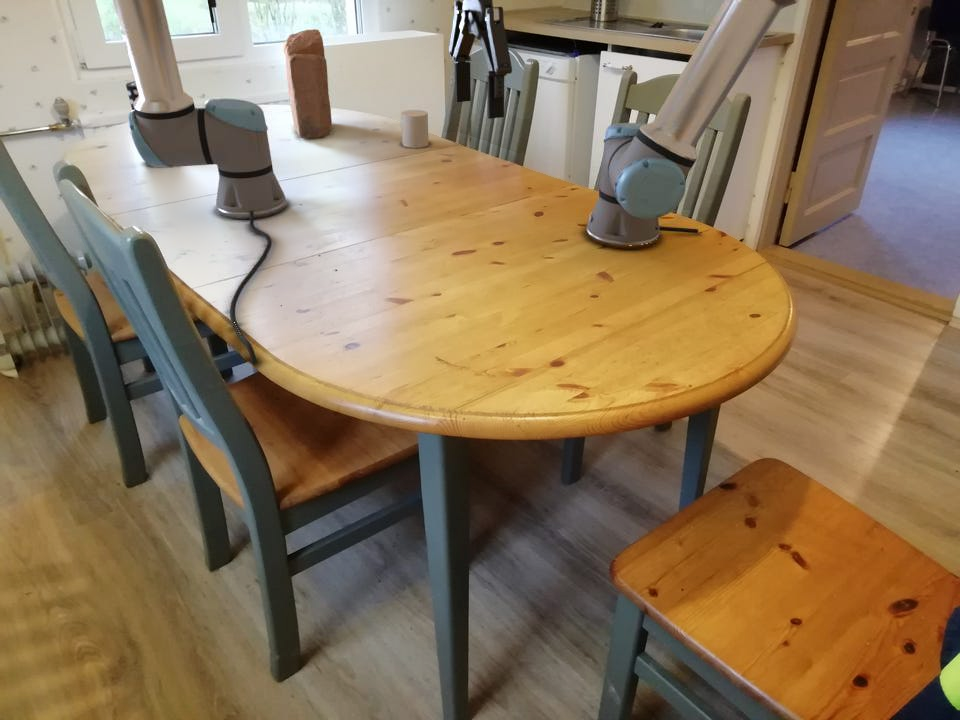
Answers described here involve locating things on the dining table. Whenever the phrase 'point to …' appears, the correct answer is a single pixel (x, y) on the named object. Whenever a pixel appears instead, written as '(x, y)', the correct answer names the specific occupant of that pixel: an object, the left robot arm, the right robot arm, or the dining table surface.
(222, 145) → the left robot arm
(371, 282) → the dining table surface
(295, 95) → the stone
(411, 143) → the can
